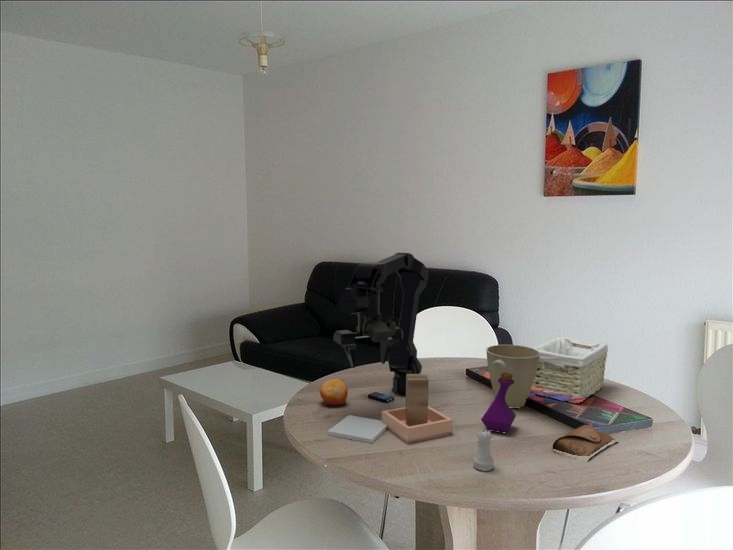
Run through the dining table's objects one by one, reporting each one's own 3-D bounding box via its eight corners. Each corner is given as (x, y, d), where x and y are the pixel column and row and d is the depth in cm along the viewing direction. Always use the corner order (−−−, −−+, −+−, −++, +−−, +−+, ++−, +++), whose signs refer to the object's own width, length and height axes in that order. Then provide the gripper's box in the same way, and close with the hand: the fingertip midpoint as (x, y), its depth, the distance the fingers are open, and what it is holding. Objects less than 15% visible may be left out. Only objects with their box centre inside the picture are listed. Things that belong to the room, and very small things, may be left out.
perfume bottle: (516, 426, 141) (518, 358, 139) (510, 437, 134) (513, 366, 132) (487, 422, 144) (489, 355, 142) (480, 432, 137) (482, 362, 135)
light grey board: (348, 418, 146) (348, 415, 146) (390, 425, 141) (390, 422, 141) (327, 434, 135) (327, 431, 135) (372, 443, 130) (372, 439, 130)
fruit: (350, 392, 163) (348, 374, 158) (347, 414, 156) (345, 395, 151) (323, 391, 163) (321, 373, 158) (319, 413, 157) (316, 394, 152)
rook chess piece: (470, 463, 120) (471, 428, 119) (490, 462, 120) (491, 427, 120) (476, 472, 116) (477, 436, 115) (496, 471, 116) (498, 435, 115)
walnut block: (405, 423, 141) (406, 374, 139) (424, 423, 141) (425, 374, 139) (407, 430, 136) (408, 379, 134) (427, 430, 136) (428, 379, 134)
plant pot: (480, 409, 153) (482, 354, 152) (489, 393, 167) (490, 342, 165) (535, 417, 148) (538, 359, 146) (540, 400, 161) (542, 347, 160)
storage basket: (580, 408, 155) (583, 357, 154) (526, 395, 166) (528, 348, 164) (607, 388, 173) (610, 342, 172) (557, 378, 184) (559, 335, 182)
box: (423, 417, 147) (424, 403, 147) (452, 434, 136) (452, 419, 135) (381, 425, 141) (381, 411, 141) (407, 444, 130) (407, 428, 129)
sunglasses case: (588, 463, 120) (574, 434, 122) (561, 470, 124) (548, 441, 126) (620, 441, 132) (607, 414, 134) (595, 447, 137) (583, 421, 139)
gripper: (350, 317, 137) (350, 377, 138) (413, 311, 145) (412, 369, 147) (332, 310, 147) (332, 366, 148) (393, 305, 155) (392, 359, 157)
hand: (368, 365), depth 150 cm, fingers open, 9 cm apart
